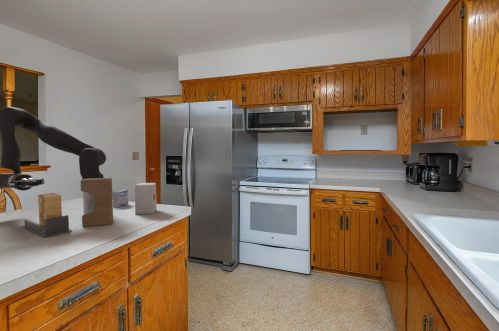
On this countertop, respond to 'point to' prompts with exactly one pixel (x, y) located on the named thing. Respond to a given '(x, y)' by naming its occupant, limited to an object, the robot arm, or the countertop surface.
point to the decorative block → (98, 201)
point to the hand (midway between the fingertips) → (35, 183)
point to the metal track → (49, 226)
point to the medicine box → (120, 198)
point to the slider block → (49, 207)
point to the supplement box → (145, 198)
